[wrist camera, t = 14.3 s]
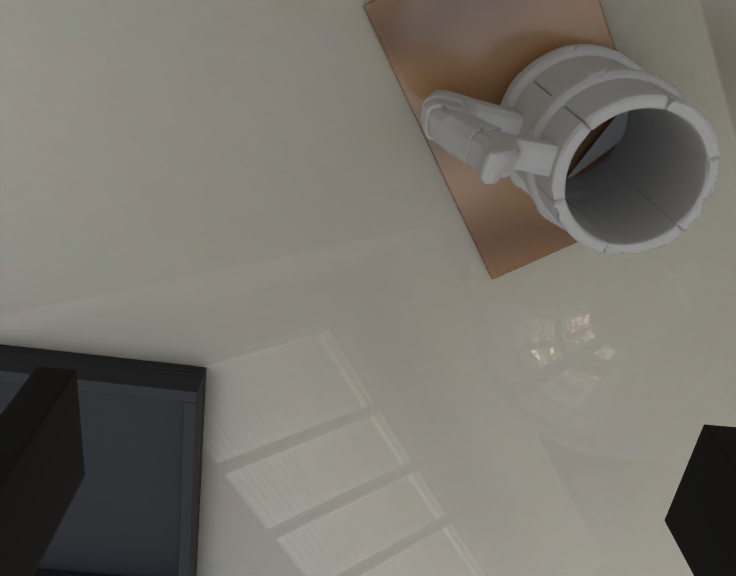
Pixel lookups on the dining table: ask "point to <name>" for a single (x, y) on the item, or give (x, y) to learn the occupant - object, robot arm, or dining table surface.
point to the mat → (487, 97)
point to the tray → (126, 464)
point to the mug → (567, 131)
